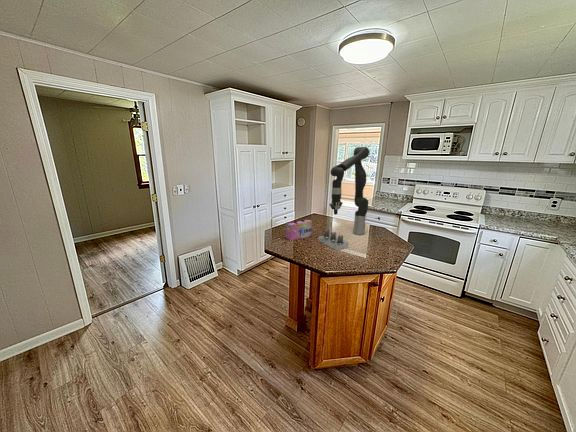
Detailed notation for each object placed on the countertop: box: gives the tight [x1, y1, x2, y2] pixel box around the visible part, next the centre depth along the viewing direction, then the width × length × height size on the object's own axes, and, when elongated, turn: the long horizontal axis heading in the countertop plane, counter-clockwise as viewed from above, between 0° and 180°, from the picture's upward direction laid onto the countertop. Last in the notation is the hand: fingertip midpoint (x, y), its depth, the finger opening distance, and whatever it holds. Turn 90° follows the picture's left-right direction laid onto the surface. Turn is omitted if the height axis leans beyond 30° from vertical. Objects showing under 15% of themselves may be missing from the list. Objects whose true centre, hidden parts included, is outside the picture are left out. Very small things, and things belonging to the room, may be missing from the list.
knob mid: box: [330, 231, 337, 240], centre depth 183 cm, size 4×4×5 cm
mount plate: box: [317, 233, 350, 251], centre depth 184 cm, size 12×22×4 cm, turn 30°
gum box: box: [285, 218, 313, 241], centre depth 198 cm, size 24×8×14 cm, turn 122°
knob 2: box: [337, 234, 344, 243], centre depth 176 cm, size 4×4×5 cm
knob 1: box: [323, 228, 330, 237], centre depth 190 cm, size 4×4×5 cm
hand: (335, 214), depth 188 cm, fingers closed
